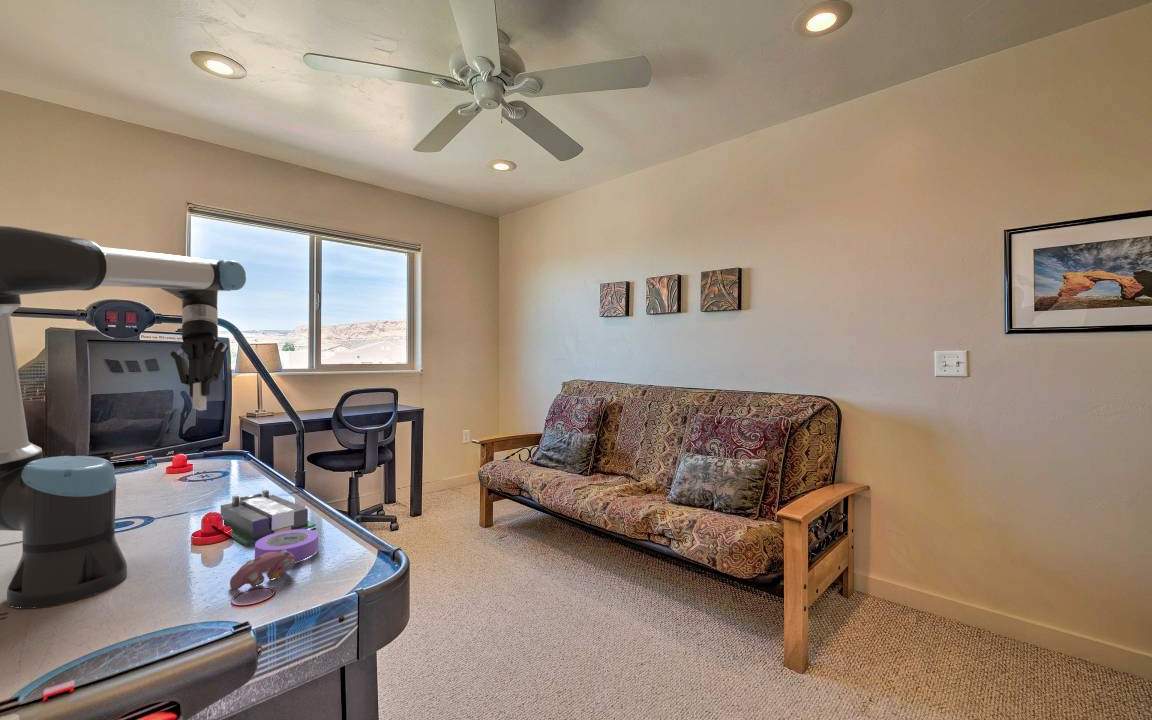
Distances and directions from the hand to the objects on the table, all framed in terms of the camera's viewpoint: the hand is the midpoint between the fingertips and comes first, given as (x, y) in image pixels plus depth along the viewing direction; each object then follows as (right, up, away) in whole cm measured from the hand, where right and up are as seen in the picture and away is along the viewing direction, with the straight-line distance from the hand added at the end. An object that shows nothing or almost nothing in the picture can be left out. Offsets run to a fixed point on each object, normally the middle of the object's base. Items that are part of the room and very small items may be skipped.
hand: (199, 408), depth 121 cm
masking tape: (+33, -30, -18) cm, 48 cm away
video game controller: (+36, -30, -30) cm, 55 cm away
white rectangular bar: (+17, -27, -1) cm, 32 cm away
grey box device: (+16, -29, -1) cm, 34 cm away
